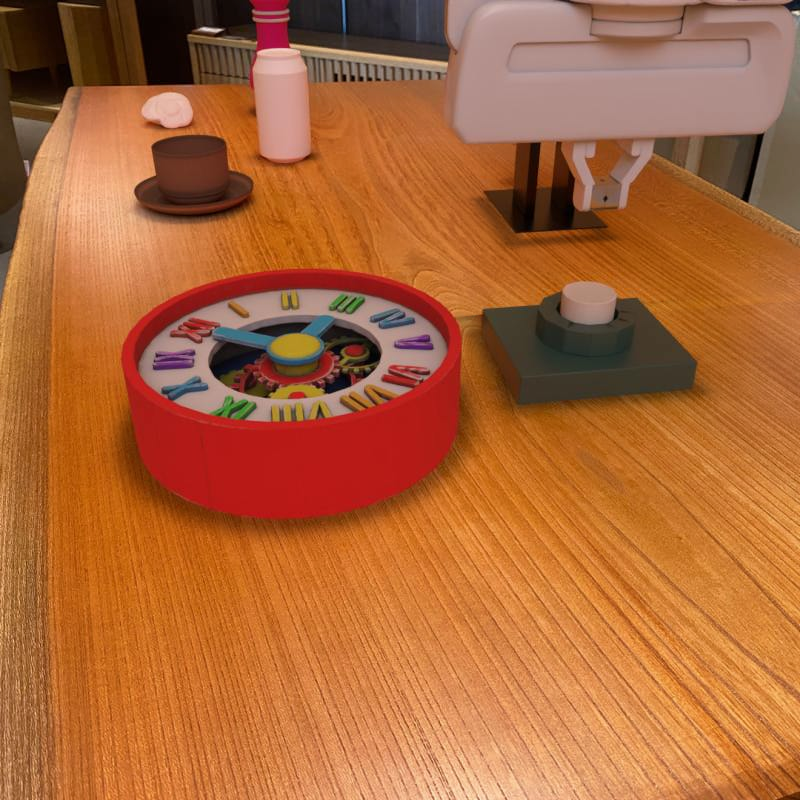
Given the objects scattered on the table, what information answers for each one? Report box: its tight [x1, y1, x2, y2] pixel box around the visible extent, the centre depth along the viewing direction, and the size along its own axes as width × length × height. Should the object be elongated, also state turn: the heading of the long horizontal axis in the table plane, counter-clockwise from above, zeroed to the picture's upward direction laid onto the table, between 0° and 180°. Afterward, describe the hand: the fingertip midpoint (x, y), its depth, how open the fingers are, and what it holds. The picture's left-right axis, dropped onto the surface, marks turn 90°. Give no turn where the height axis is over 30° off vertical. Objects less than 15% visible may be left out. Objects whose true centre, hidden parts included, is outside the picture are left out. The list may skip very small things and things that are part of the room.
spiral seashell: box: [139, 91, 194, 130], centre depth 113 cm, size 7×5×4 cm
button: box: [560, 280, 618, 325], centre depth 57 cm, size 4×4×2 cm
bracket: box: [483, 141, 609, 234], centre depth 80 cm, size 12×9×14 cm
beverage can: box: [252, 48, 312, 164], centre depth 98 cm, size 6×6×12 cm
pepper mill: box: [249, 0, 292, 91], centre depth 115 cm, size 7×7×20 cm
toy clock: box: [120, 268, 463, 520], centre depth 52 cm, size 20×6×20 cm
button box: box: [480, 290, 699, 406], centre depth 58 cm, size 12×10×4 cm
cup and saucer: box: [133, 134, 254, 216], centre depth 85 cm, size 12×12×6 cm
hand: (598, 207), depth 53 cm, fingers closed
